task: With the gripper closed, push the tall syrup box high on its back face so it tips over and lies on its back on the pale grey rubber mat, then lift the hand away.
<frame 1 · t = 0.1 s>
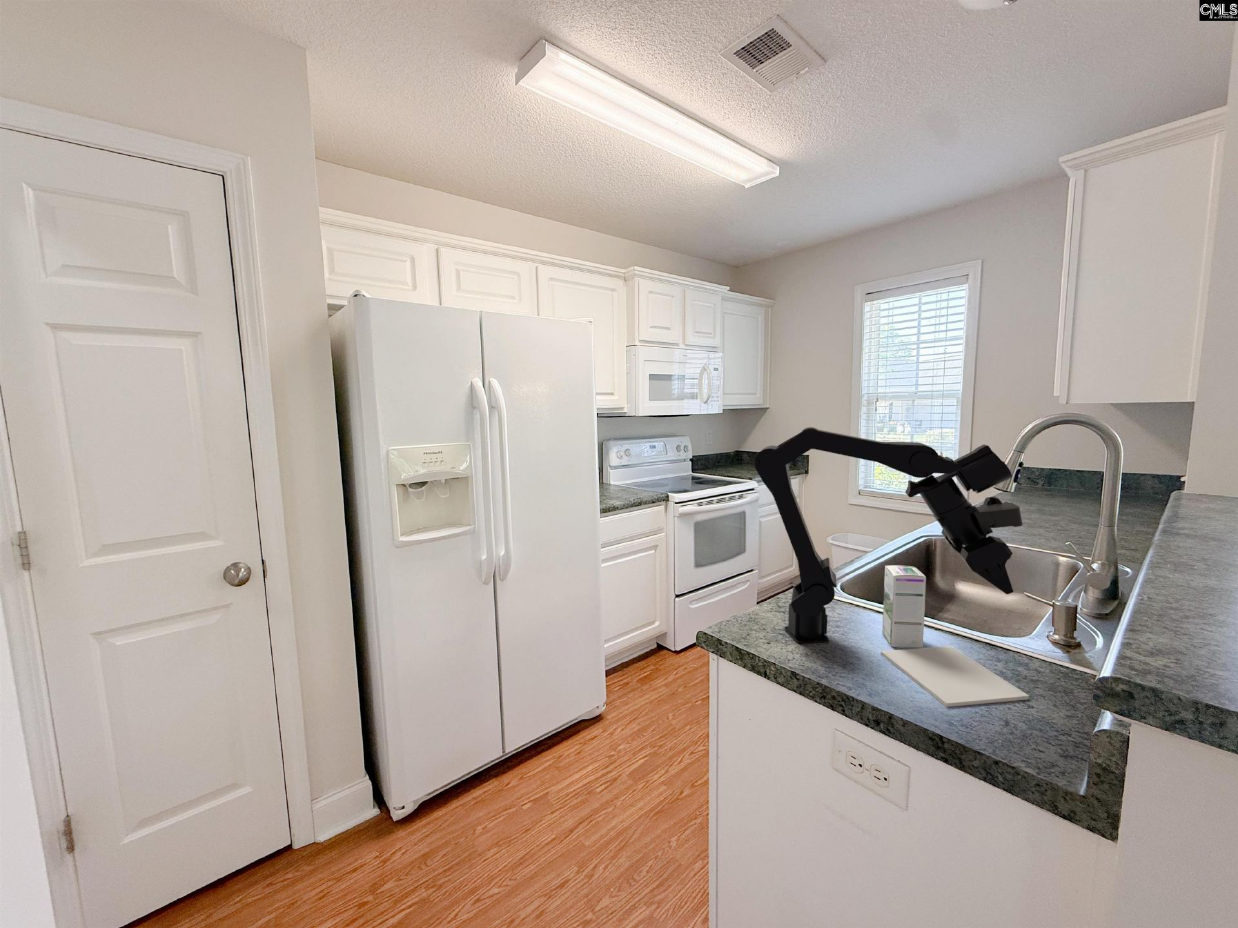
hand: (1000, 583, 86), 15 cm above the countertop, tool tilted 35°, fingers open, 9 cm apart
syrup box: (901, 642, 97), on the countertop
rubber mat: (948, 674, 85), on the countertop
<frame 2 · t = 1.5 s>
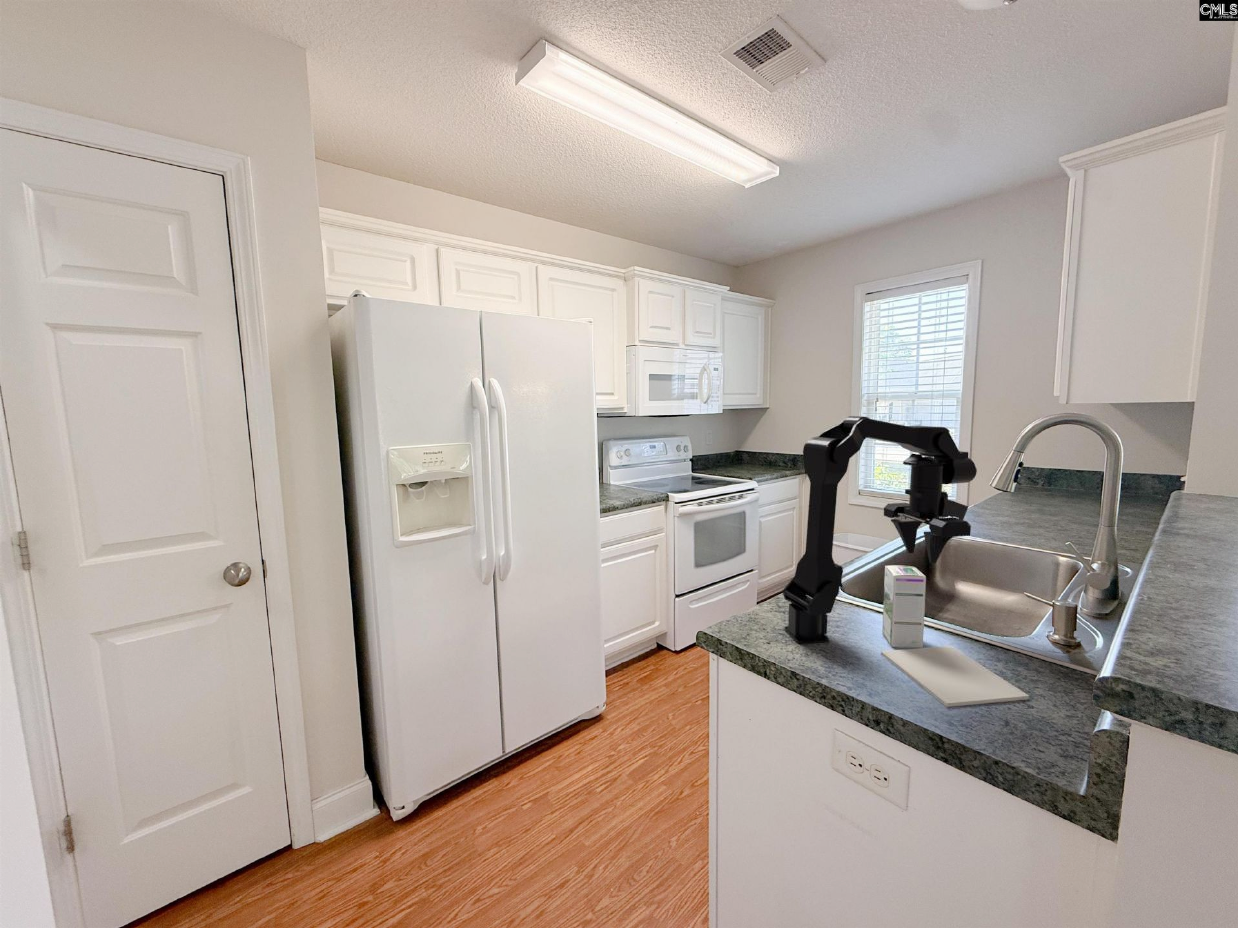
hand: (921, 557, 106), 13 cm above the countertop, tool pointing down, fingers open, 6 cm apart
nothing on the countertop moved.
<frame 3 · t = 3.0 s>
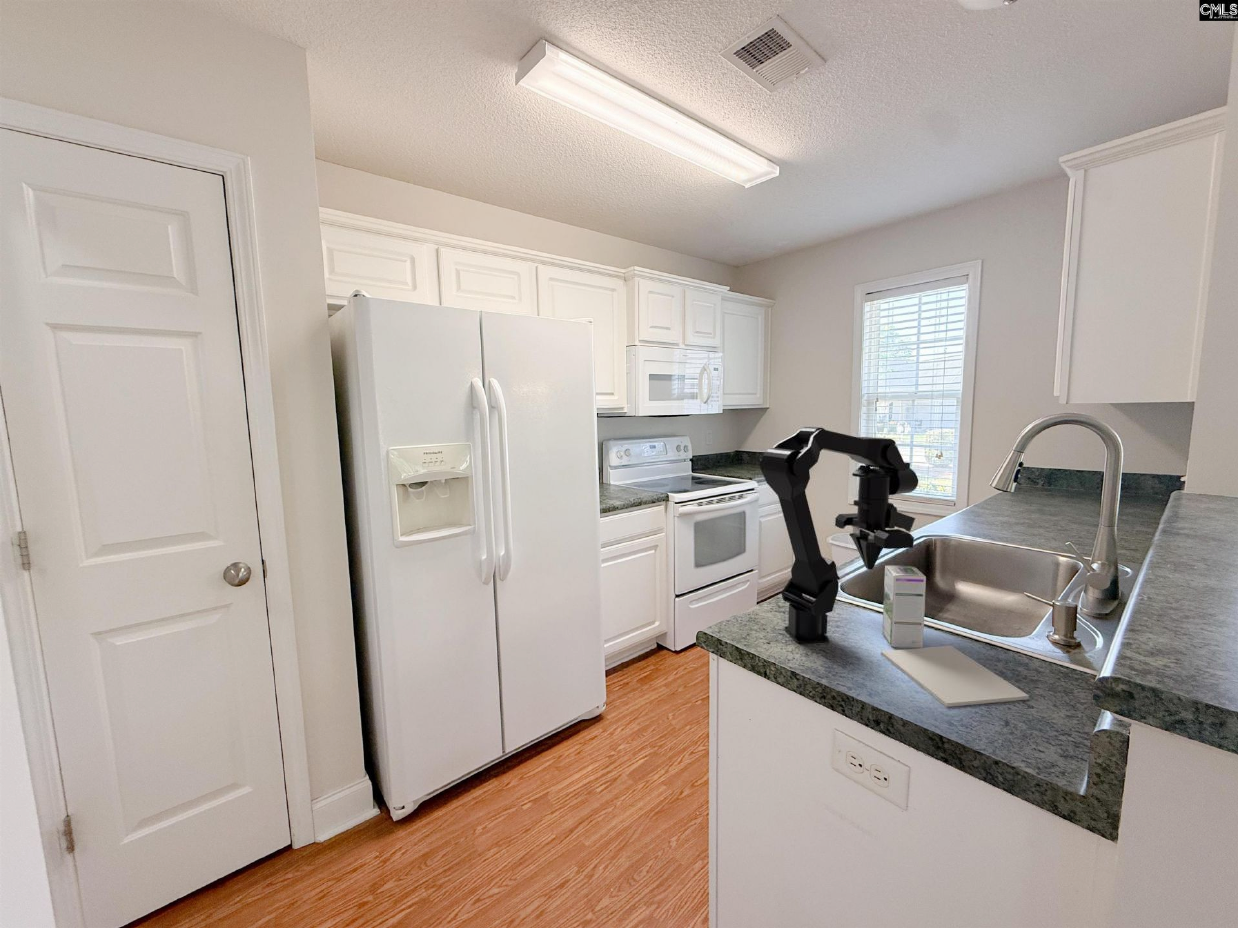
hand: (869, 568, 106), 11 cm above the countertop, tool pointing down, fingers closed
nothing on the countertop moved.
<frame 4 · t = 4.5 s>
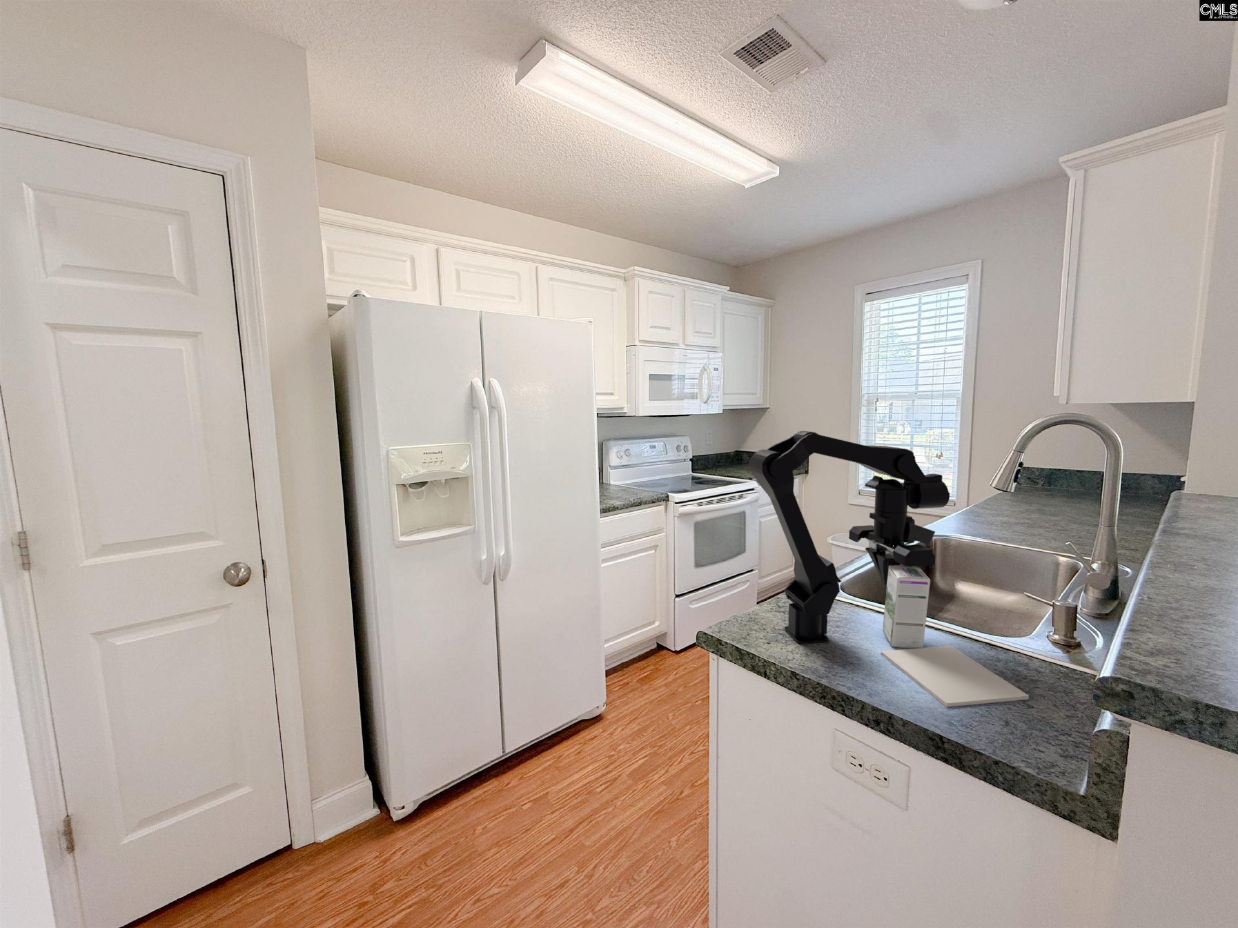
hand: (886, 585, 101), 9 cm above the countertop, tool pointing down, fingers closed
syrup box: (901, 641, 97), on the countertop, touching gripper
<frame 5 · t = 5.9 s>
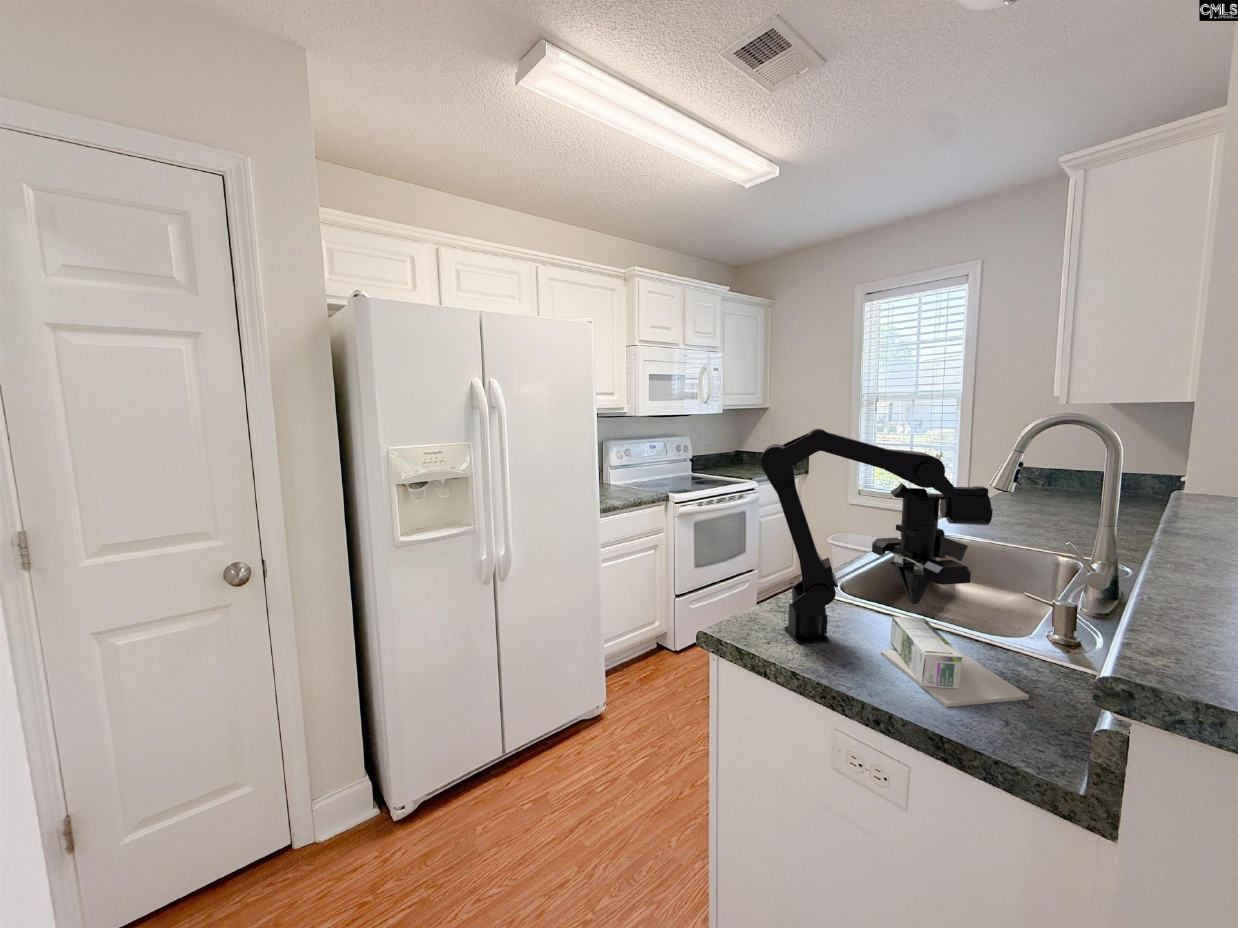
hand: (914, 603, 93), 9 cm above the countertop, tool pointing down, fingers closed
syrup box: (905, 630, 94), point 3 cm above the countertop, touching rubber mat
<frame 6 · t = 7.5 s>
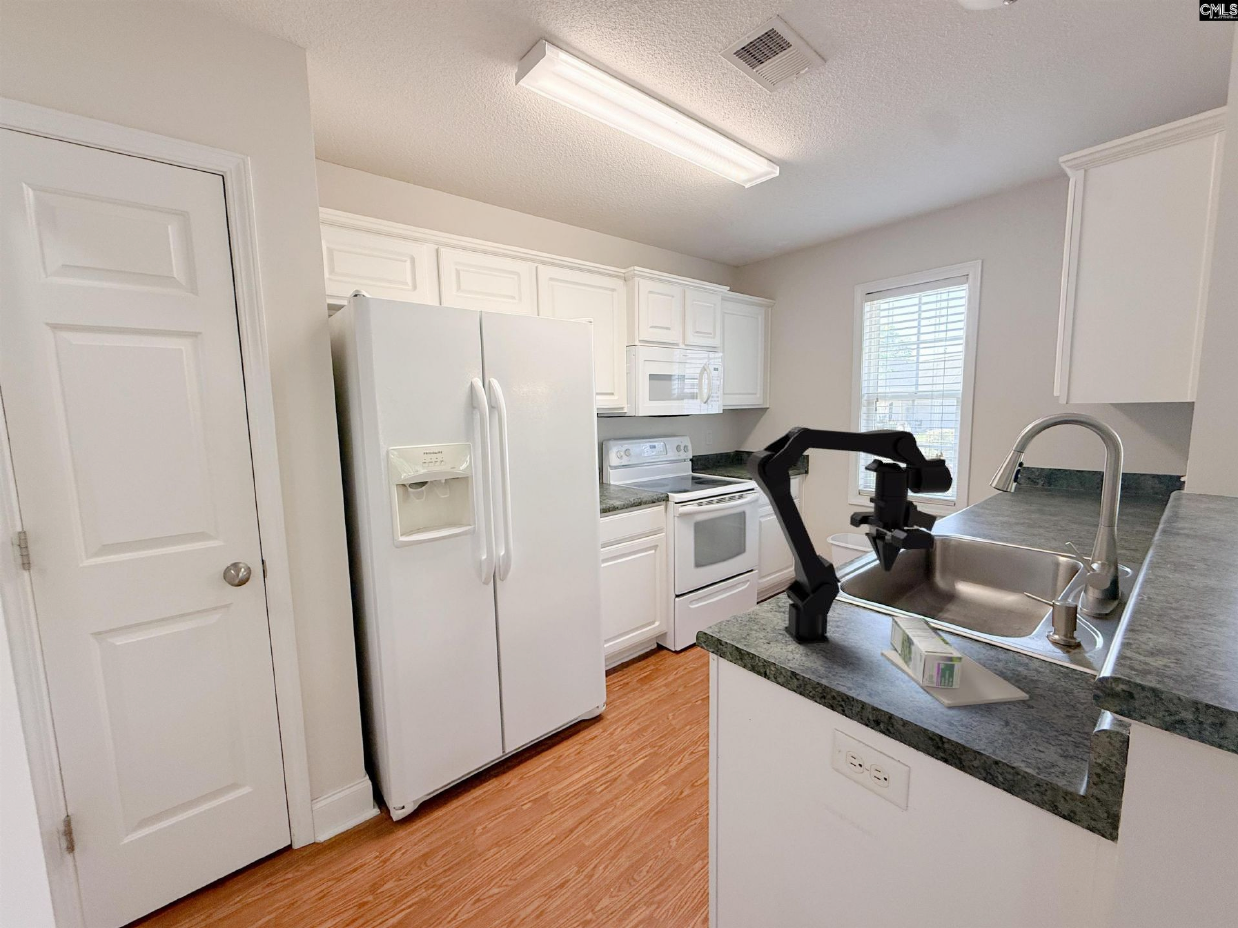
hand: (886, 570, 99), 13 cm above the countertop, tool pointing down, fingers closed
nothing on the countertop moved.
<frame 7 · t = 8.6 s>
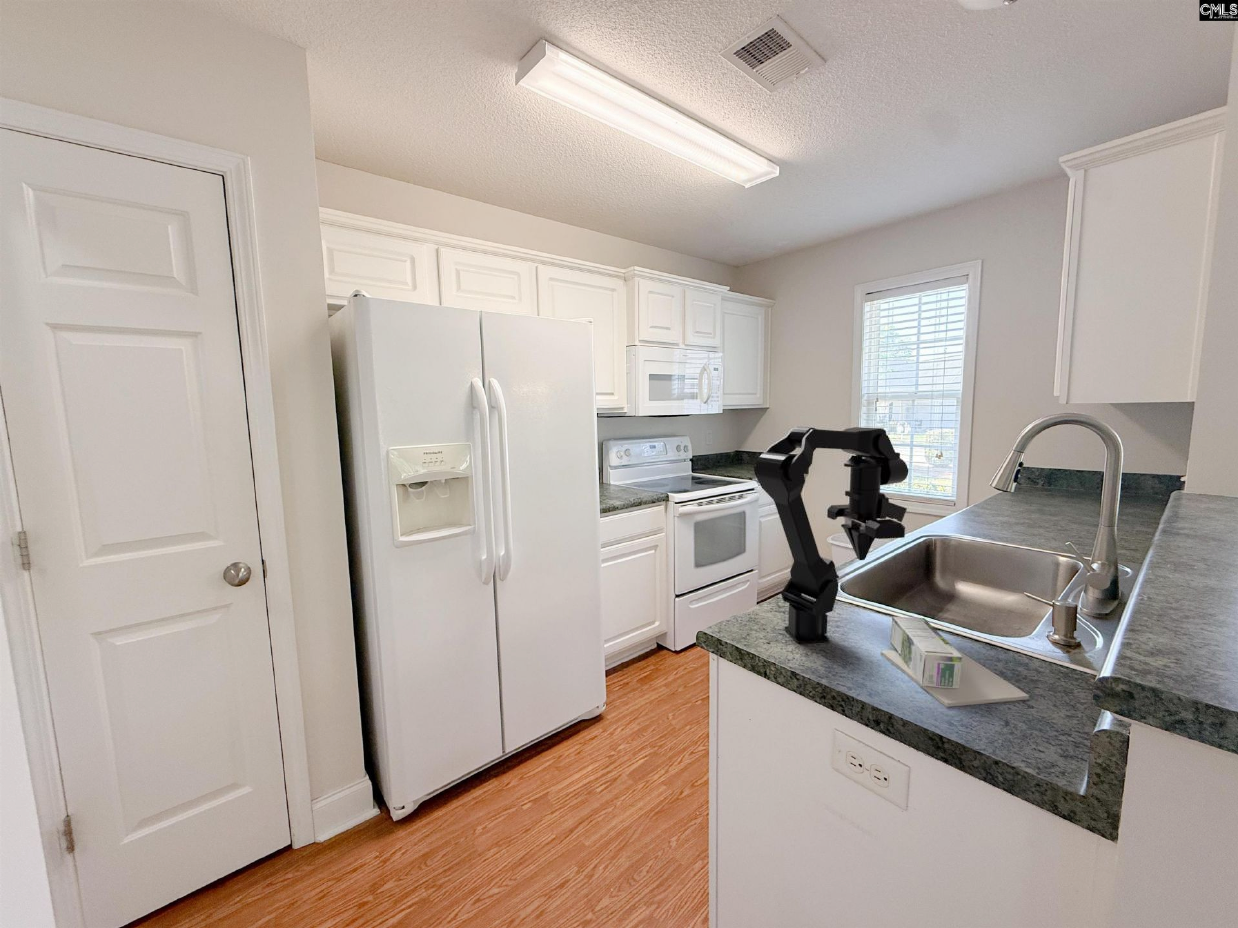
hand: (861, 559, 106), 13 cm above the countertop, tool pointing down, fingers closed
nothing on the countertop moved.
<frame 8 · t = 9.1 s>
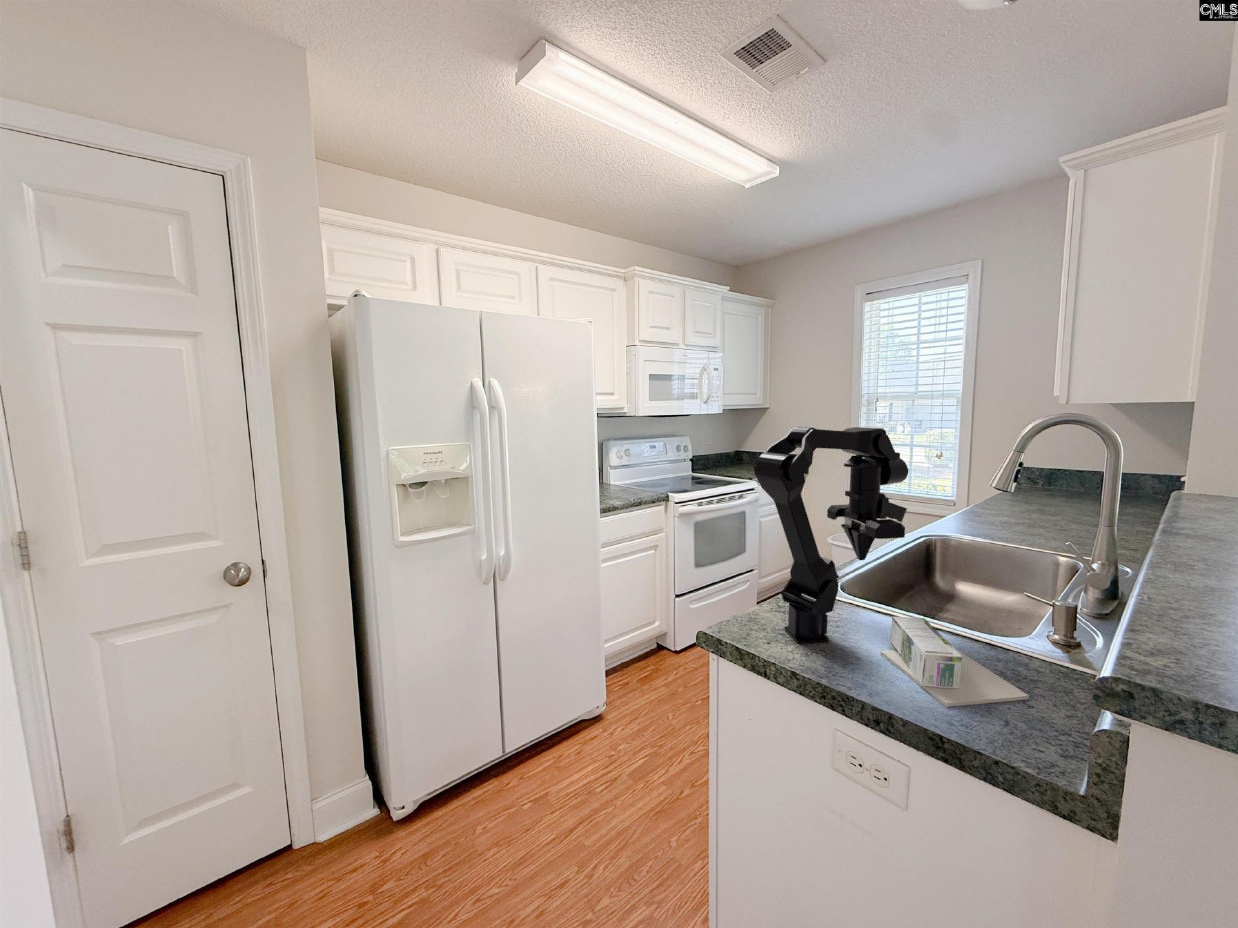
hand: (861, 559, 106), 13 cm above the countertop, tool pointing down, fingers closed
nothing on the countertop moved.
at the end: syrup box tilted 90°; syrup box touching rubber mat; syrup box inside the target area (1.6 cm from its centre), point 3.4 cm above the countertop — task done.
